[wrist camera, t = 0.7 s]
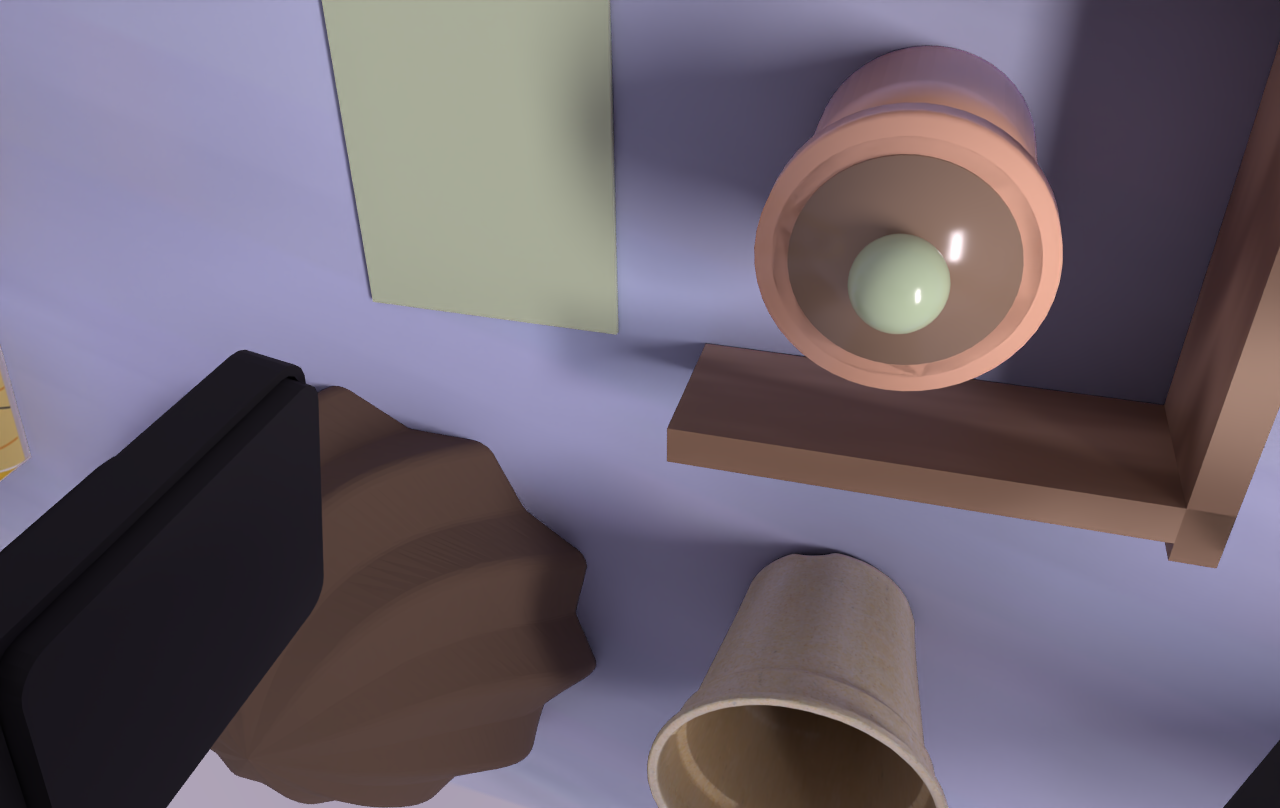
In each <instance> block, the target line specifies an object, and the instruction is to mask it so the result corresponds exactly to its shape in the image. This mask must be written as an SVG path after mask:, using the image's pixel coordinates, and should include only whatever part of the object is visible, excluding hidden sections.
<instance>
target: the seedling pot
mask: <svg viewBox="0 0 1280 808" xmlns="http://www.w3.org/2000/svg"><path fill="white" fill-rule="evenodd" d="M754 254H755V270H756V276H757V282H758V286H759V289H760V292H761V295H762V299H763V301H764V303H765V305H766V307H767V309H768V312H769V314H770V315H771V317H772V319H773V320H774V322H775V323H776V325H777V326H778V328H779V329H780V331H781V332H782V333H783V334H784V335H785V337H786V338H787V339H788V340H789V341H790V342H791V343H792V344H793V345H794V346H795V347H796V348H797V349H798V350H799V351H800V352H801V353H802V354H803V355H805V356H806V357H807V358H809V359H810V360H811V361H813V362H814V363H815V364H817V365H819V366H820V367H822V368H824V369H826V370H827V371H829V372H831V373H833V374H835V375H837V376H839V377H842V378H844V379H846V380H849V381H852V382H855V383H858V384H861V385H865V386H869V387H874V388H879V389H884V390H895V391H924V390H931V389H939V388H944V387H948V386H952V385H956V384H960V383H962V382H965V381H968V380H970V379H973V378H976V377H978V376H980V375H982V374H984V373H986V372H988V371H990V370H992V369H994V368H995V367H997V366H998V365H1000V364H1001V363H1003V362H1004V361H1006V360H1007V359H1009V358H1010V357H1011V356H1012V355H1013V354H1014V353H1016V352H1017V351H1018V350H1019V349H1020V348H1021V347H1023V346H1024V345H1025V343H1026V342H1027V341H1028V340H1029V339H1030V338H1031V337H1032V335H1033V334H1034V333H1035V332H1036V331H1037V329H1038V328H1039V326H1040V325H1041V323H1042V322H1043V320H1044V319H1045V317H1046V316H1047V313H1048V311H1049V309H1050V307H1051V305H1052V303H1053V301H1054V299H1055V295H1056V292H1057V289H1058V286H1059V283H1060V277H1061V270H1062V264H1063V244H1062V234H1061V224H1060V218H1059V212H1058V206H1057V203H1056V200H1055V197H1054V194H1053V191H1052V188H1051V186H1050V184H1049V182H1048V180H1047V178H1046V176H1045V174H1044V172H1043V171H1042V169H1041V168H1040V167H1039V165H1038V162H1037V145H1036V134H1035V128H1034V122H1033V119H1032V116H1031V113H1030V110H1029V108H1028V106H1027V104H1026V102H1025V100H1024V97H1023V96H1022V94H1021V93H1020V92H1019V90H1018V89H1017V87H1016V86H1015V84H1014V83H1013V82H1012V81H1011V80H1010V79H1009V78H1008V77H1007V76H1006V75H1005V74H1004V73H1003V72H1002V71H1000V70H999V69H998V68H997V67H995V66H994V65H992V64H991V63H989V62H987V61H986V60H984V59H982V58H981V57H978V56H976V55H973V54H971V53H969V52H966V51H962V50H958V49H955V48H949V47H942V46H918V47H910V48H904V49H901V50H897V51H893V52H890V53H888V54H885V55H883V56H880V57H878V58H876V59H874V60H872V61H871V62H869V63H867V64H865V65H864V66H862V67H861V68H860V69H858V70H857V71H856V72H854V73H853V74H852V75H851V76H850V77H849V78H848V79H847V80H846V81H844V82H843V83H842V85H841V86H840V87H839V88H838V89H837V91H836V92H835V93H834V94H833V96H832V98H831V99H830V101H829V102H828V104H827V106H826V108H825V110H824V112H823V114H822V117H821V119H820V121H819V124H818V126H817V128H816V131H815V133H814V135H813V137H811V138H810V139H809V140H808V141H807V142H806V143H805V144H804V145H803V146H802V147H801V148H800V149H798V150H797V152H796V153H795V154H794V155H793V156H792V158H791V159H790V160H789V161H788V163H787V164H786V165H785V167H784V168H783V170H782V172H781V173H780V175H779V176H778V178H777V180H776V182H775V184H774V186H773V188H772V190H771V192H770V195H769V197H768V199H767V201H766V204H765V206H764V208H763V211H762V213H761V216H760V220H759V224H758V227H757V231H756V239H755V247H754Z"/></svg>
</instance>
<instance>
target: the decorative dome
mask: <svg viewBox="0 0 1280 808" xmlns="http://www.w3.org/2000/svg"><path fill="white" fill-rule="evenodd" d="M318 400H319V433H320V466H321V498H322V531H323V564H324V581H323V586H322V591H321V594H320V597H319V599H318V601H317V604H316V606H315V608H314V609H313V611H312V612H311V614H310V615H309V617H308V618H307V619H306V621H305V622H304V623H303V625H302V626H301V627H300V629H299V630H298V631H297V633H296V634H295V636H294V637H293V638H292V640H291V641H290V642H289V644H288V645H287V646H286V648H285V649H284V650H283V652H282V653H281V654H280V656H279V657H278V658H277V660H276V661H275V662H274V664H273V665H272V666H271V668H270V669H269V670H268V672H267V673H266V674H265V676H264V677H263V678H262V680H261V681H260V683H259V684H258V685H257V687H256V688H255V689H254V691H253V692H252V693H251V695H250V696H249V697H248V699H247V700H246V701H245V703H244V704H243V705H242V707H241V708H240V709H239V711H238V712H237V713H236V715H235V716H234V717H233V719H232V720H231V721H230V723H229V724H228V725H227V727H226V728H225V729H224V731H223V732H222V734H221V735H220V736H219V738H218V739H217V740H216V742H215V743H214V744H213V746H212V747H211V748H210V749H211V750H213V751H214V752H216V753H217V754H218V755H219V757H220V758H221V759H222V761H224V763H225V764H226V765H227V767H228V768H229V769H230V771H231V772H233V773H234V774H235V775H238V776H240V777H243V778H247V779H250V780H254V781H258V782H261V783H263V784H265V785H267V786H269V787H270V788H272V789H274V790H275V791H277V792H278V793H280V794H282V795H283V796H285V797H287V798H289V799H291V800H294V801H297V802H300V803H306V804H317V803H323V802H329V801H334V800H336V801H341V802H346V803H351V804H356V805H361V806H370V807H405V806H412V805H417V804H420V803H423V802H425V801H428V800H429V799H431V798H432V797H434V795H436V794H437V793H438V792H439V791H440V790H441V789H442V788H443V787H444V786H445V785H446V784H447V783H448V782H449V781H450V780H451V779H453V778H454V777H455V776H459V775H465V774H470V773H476V772H482V771H487V770H493V769H498V768H503V767H507V766H510V765H513V764H516V763H518V762H520V761H521V760H523V759H524V758H526V757H527V756H528V754H529V753H530V751H531V750H532V747H533V744H534V740H535V735H536V731H537V726H538V722H539V719H540V715H541V712H542V709H543V706H544V704H545V703H546V702H548V701H549V700H550V699H552V698H554V697H555V696H557V695H558V694H560V693H561V692H563V691H564V690H566V689H567V688H569V687H571V686H572V685H574V684H576V683H577V682H579V681H581V680H582V679H584V678H586V677H587V676H588V675H590V674H591V673H592V671H593V670H594V669H595V667H596V660H595V658H594V656H593V653H592V651H591V648H590V646H589V643H588V641H587V639H586V637H585V634H584V632H583V630H582V627H581V625H580V623H579V620H578V618H577V615H576V608H577V603H578V599H579V595H580V592H581V588H582V584H583V580H584V576H585V572H586V568H587V564H586V560H585V558H584V556H583V555H582V554H581V553H580V552H579V551H578V550H577V549H576V548H574V547H573V546H572V545H570V544H569V543H568V542H566V541H565V540H564V539H562V538H561V537H560V536H559V535H557V534H556V533H555V532H553V531H552V530H551V529H549V528H548V527H547V526H545V525H544V524H543V523H542V522H540V521H539V520H538V519H536V518H535V517H534V516H532V515H531V514H530V513H529V512H527V511H526V510H525V508H524V507H523V506H522V504H521V502H520V501H519V499H518V497H517V495H516V493H515V492H514V490H513V488H512V486H511V485H510V483H509V481H508V479H507V477H506V476H505V474H504V472H503V470H502V469H501V467H500V465H499V463H498V461H497V460H496V458H495V456H494V454H493V453H492V451H491V450H490V449H489V448H488V447H486V446H485V445H483V444H482V443H480V442H477V441H474V440H469V439H464V438H458V437H452V436H447V435H441V434H436V433H431V432H425V431H420V430H414V429H410V428H407V427H406V426H404V425H403V424H401V423H400V422H398V421H397V420H395V419H393V418H392V417H390V416H389V415H387V414H386V413H384V412H382V411H381V410H379V409H378V408H376V407H375V406H373V405H372V404H370V403H369V402H367V401H366V400H364V399H362V398H361V397H359V396H358V395H356V394H355V393H353V392H351V391H350V390H348V389H346V388H343V387H340V386H332V387H328V388H326V389H324V390H322V391H320V392H318Z"/></svg>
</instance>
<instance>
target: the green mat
mask: <svg viewBox="0 0 1280 808" xmlns="http://www.w3.org/2000/svg"><path fill="white" fill-rule="evenodd" d="M322 5H323V11H324V17H325V23H326V29H327V35H328V40H329V46H330V52H331V58H332V64H333V70H334V76H335V82H336V87H337V93H338V99H339V105H340V111H341V117H342V123H343V129H344V135H345V140H346V146H347V152H348V158H349V164H350V170H351V176H352V182H353V187H354V193H355V199H356V205H357V211H358V217H359V223H360V229H361V234H362V240H363V246H364V252H365V258H366V264H367V270H368V276H369V281H370V287H371V293H372V299H373V302H379V303H386V304H394V305H401V306H408V307H416V308H423V309H431V310H438V311H445V312H453V313H460V314H468V315H475V316H482V317H490V318H497V319H504V320H512V321H519V322H527V323H534V324H541V325H549V326H556V327H564V328H571V329H578V330H586V331H593V332H601V333H608V334H615V335H617V333H618V296H617V256H616V216H615V177H614V137H613V98H612V58H611V18H610V0H322Z"/></svg>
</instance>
